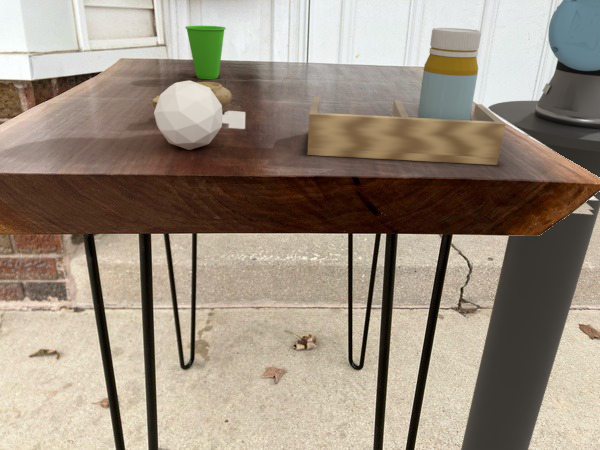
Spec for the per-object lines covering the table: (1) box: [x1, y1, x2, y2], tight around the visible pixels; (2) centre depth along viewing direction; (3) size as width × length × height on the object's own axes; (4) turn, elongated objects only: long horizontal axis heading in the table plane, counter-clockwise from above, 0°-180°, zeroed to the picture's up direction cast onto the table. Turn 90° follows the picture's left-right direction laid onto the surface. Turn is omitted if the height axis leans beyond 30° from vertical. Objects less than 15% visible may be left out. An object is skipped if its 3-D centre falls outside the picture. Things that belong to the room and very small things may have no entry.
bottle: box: [416, 27, 482, 120], centre depth 71 cm, size 7×7×15 cm
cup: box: [185, 25, 227, 80], centre depth 121 cm, size 9×9×11 cm
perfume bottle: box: [153, 79, 246, 151], centre depth 71 cm, size 9×9×12 cm
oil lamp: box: [151, 81, 233, 110], centre depth 86 cm, size 11×14×5 cm
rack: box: [306, 95, 506, 166], centre depth 74 cm, size 25×12×6 cm, turn 86°
